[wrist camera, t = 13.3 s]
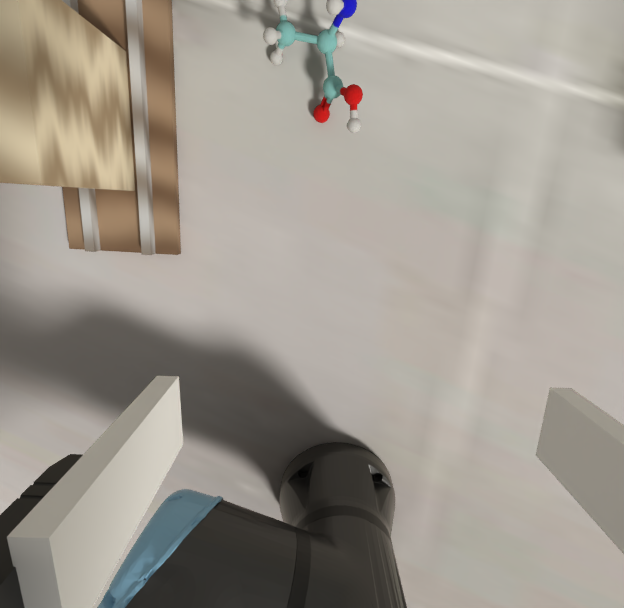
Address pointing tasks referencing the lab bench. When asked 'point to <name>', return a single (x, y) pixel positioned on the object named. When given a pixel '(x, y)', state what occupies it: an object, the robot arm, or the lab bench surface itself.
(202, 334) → the lab bench surface
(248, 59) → the lab bench surface
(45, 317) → the lab bench surface
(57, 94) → the door panel
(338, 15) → the molecular model
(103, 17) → the track board
